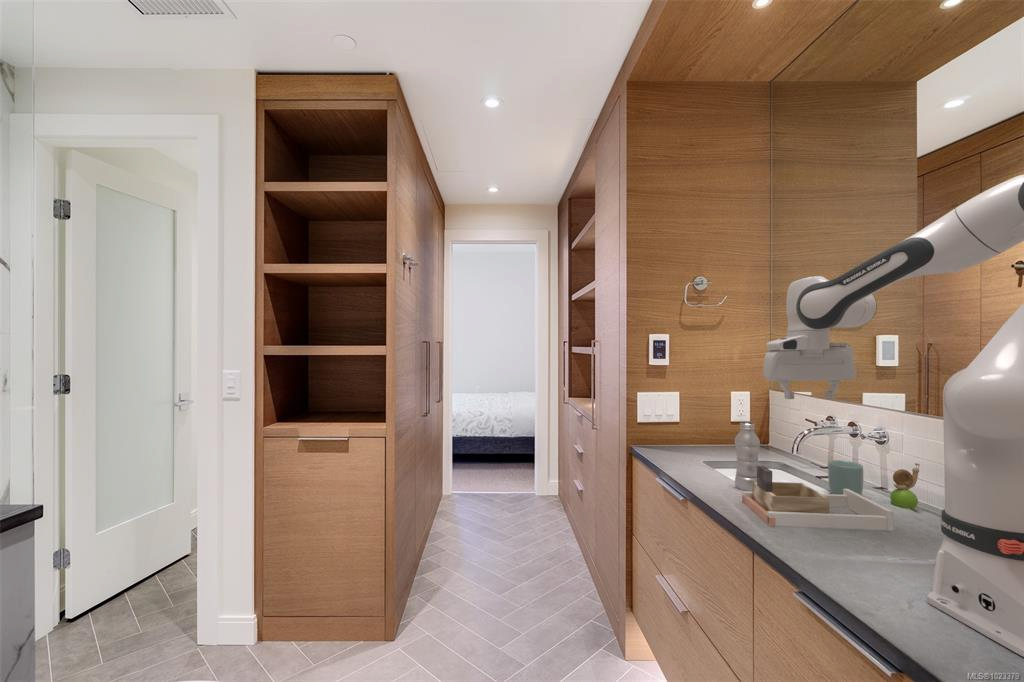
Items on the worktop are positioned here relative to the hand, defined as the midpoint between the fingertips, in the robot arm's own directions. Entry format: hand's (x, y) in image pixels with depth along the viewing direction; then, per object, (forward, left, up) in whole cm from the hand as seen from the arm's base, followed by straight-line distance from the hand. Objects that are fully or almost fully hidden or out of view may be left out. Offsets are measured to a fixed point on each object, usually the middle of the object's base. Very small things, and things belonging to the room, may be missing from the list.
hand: (809, 398), depth 112 cm
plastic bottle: (+18, +8, -29) cm, 35 cm away
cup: (+14, -16, -29) cm, 37 cm away
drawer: (-2, +6, -28) cm, 29 cm away
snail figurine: (+8, -27, -29) cm, 41 cm away
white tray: (-2, +1, -29) cm, 29 cm away
